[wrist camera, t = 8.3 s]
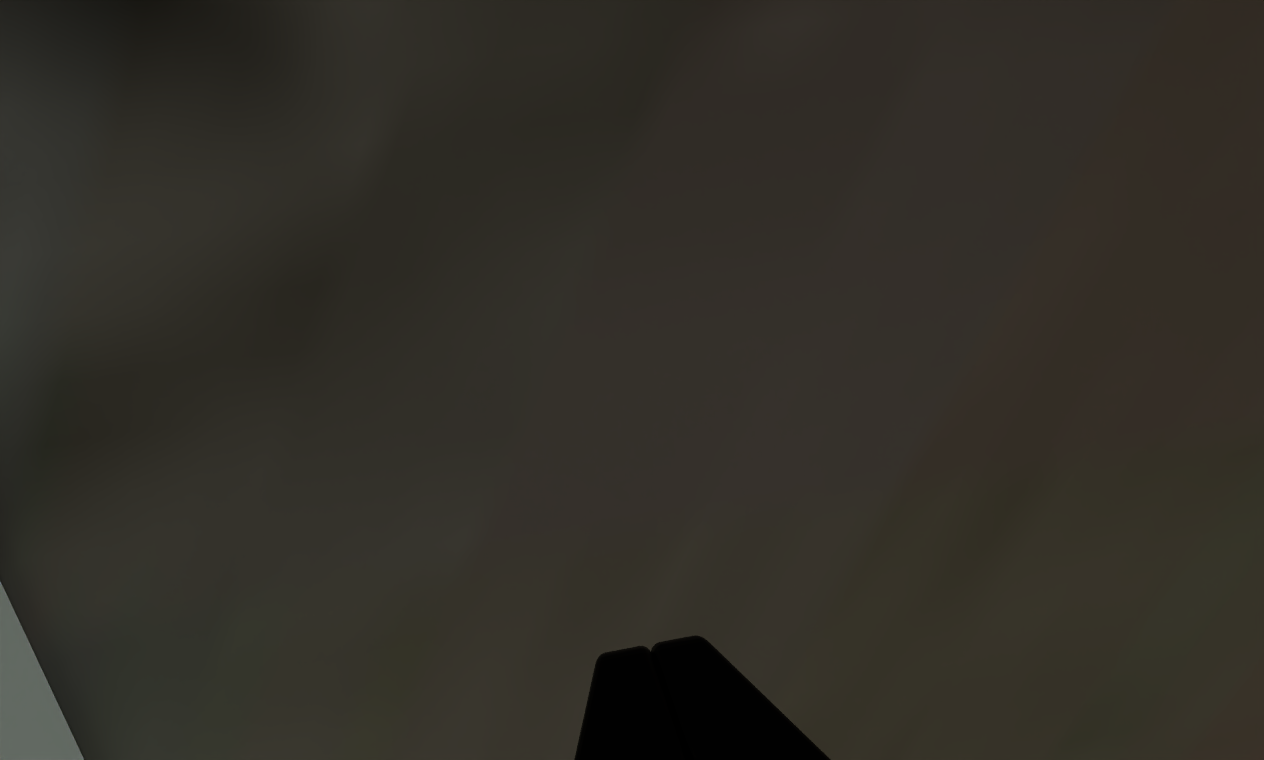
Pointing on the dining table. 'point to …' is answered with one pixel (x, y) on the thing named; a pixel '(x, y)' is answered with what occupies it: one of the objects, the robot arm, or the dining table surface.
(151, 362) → the dining table surface
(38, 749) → the door
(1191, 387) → the dining table surface
